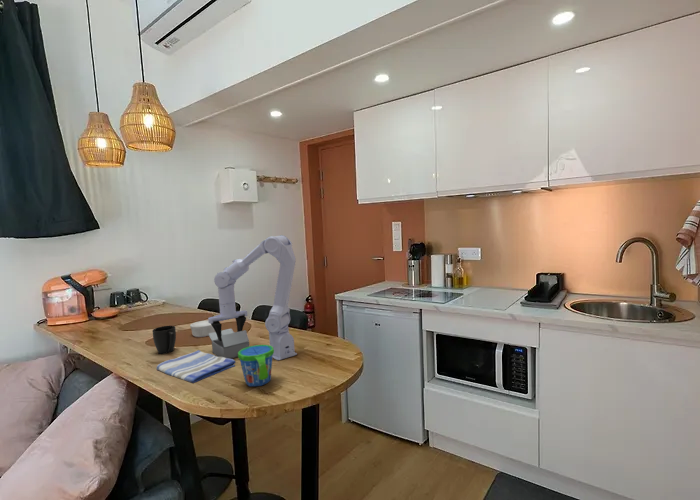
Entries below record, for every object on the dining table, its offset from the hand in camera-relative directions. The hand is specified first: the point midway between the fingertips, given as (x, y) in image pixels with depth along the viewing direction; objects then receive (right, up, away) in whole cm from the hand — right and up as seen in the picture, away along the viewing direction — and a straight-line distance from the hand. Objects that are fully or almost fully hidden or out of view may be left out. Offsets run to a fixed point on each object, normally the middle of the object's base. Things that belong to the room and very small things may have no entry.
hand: (230, 338), depth 141 cm
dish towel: (-8, -8, -12) cm, 17 cm away
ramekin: (-21, -6, +29) cm, 37 cm away
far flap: (-5, 0, +6) cm, 8 cm away
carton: (0, -6, 0) cm, 6 cm away
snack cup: (+18, -7, -28) cm, 34 cm away
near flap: (+3, +1, -4) cm, 5 cm away
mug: (-27, -7, +6) cm, 28 cm away
